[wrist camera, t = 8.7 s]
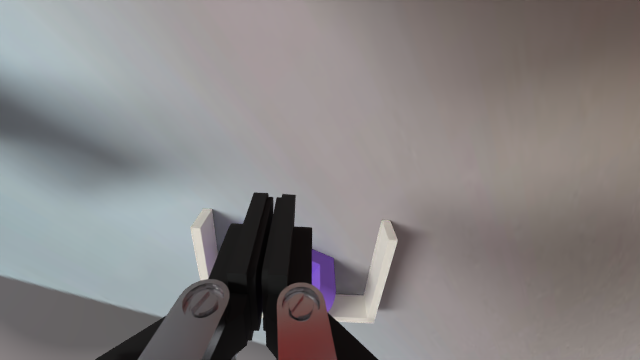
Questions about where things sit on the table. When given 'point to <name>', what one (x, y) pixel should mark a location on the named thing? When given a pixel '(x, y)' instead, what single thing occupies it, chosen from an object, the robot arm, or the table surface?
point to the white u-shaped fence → (343, 305)
